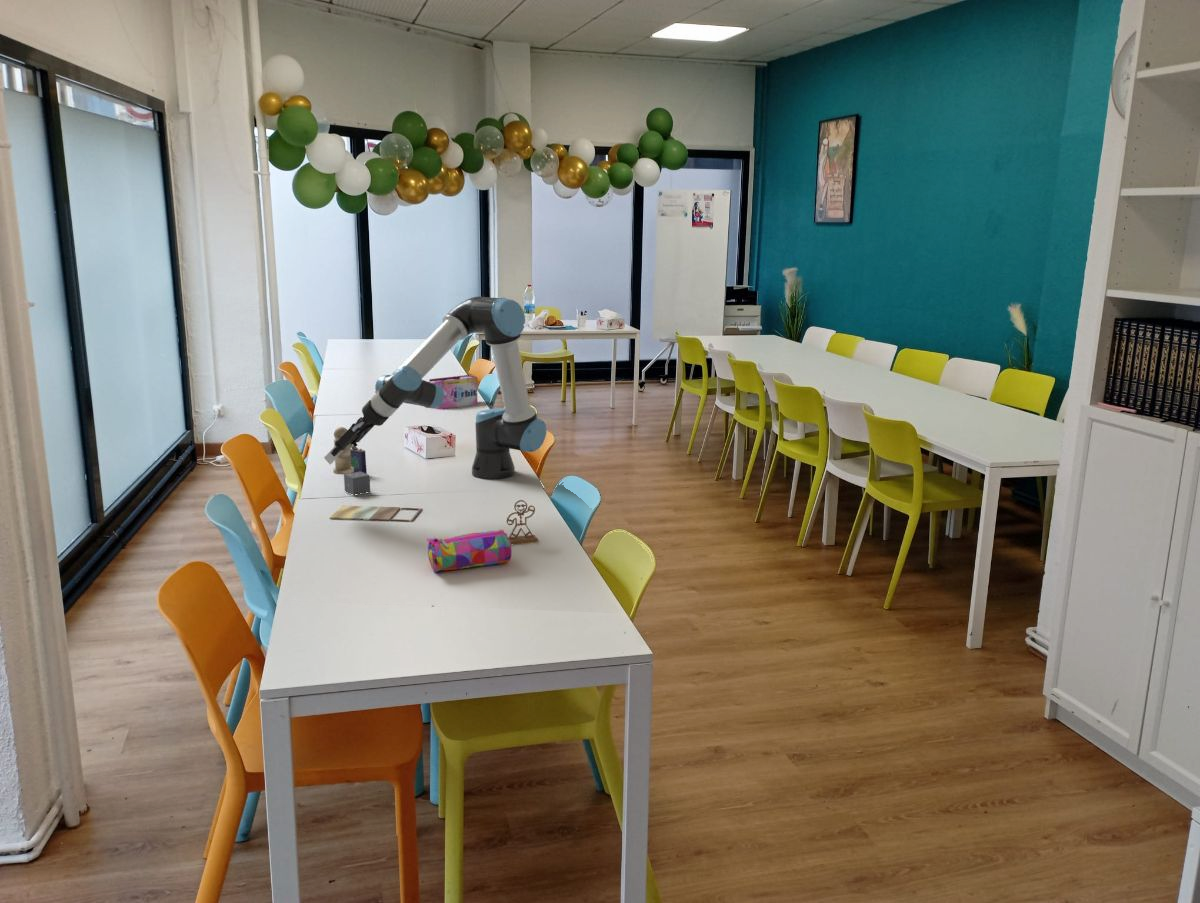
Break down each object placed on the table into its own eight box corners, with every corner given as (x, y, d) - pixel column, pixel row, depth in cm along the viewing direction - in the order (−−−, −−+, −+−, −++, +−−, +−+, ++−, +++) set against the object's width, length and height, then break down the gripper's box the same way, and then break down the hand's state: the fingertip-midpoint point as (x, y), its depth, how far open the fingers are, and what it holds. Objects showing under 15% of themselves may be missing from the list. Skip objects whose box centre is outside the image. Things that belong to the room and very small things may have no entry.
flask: (341, 474, 325) (339, 444, 323) (345, 472, 328) (344, 442, 326) (364, 476, 323) (363, 446, 320) (368, 474, 326) (367, 444, 323)
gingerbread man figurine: (507, 545, 256) (506, 503, 253) (503, 540, 260) (503, 499, 257) (538, 542, 259) (538, 501, 256) (534, 537, 263) (534, 497, 260)
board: (422, 509, 287) (422, 507, 287) (412, 521, 275) (412, 520, 275) (343, 507, 288) (343, 505, 288) (329, 519, 276) (329, 517, 276)
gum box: (435, 410, 437) (434, 381, 434) (426, 407, 443) (425, 379, 440) (478, 404, 452) (477, 376, 449) (469, 401, 458) (468, 374, 455)
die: (370, 492, 304) (369, 474, 302) (353, 496, 300) (352, 478, 298) (361, 488, 308) (360, 471, 307) (344, 492, 304) (343, 474, 303)
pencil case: (432, 578, 232) (431, 544, 230) (423, 566, 240) (422, 533, 238) (515, 567, 241) (514, 534, 238) (503, 555, 249) (503, 523, 247)
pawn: (355, 468, 282) (352, 425, 279) (352, 474, 276) (350, 429, 273) (334, 469, 281) (332, 425, 278) (331, 474, 276) (329, 429, 272)
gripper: (384, 393, 279) (338, 443, 287) (356, 404, 263) (308, 456, 270) (401, 411, 280) (354, 460, 287) (374, 423, 263) (325, 475, 271)
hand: (332, 458), depth 279 cm, fingers closed on pawn, 4 cm apart
